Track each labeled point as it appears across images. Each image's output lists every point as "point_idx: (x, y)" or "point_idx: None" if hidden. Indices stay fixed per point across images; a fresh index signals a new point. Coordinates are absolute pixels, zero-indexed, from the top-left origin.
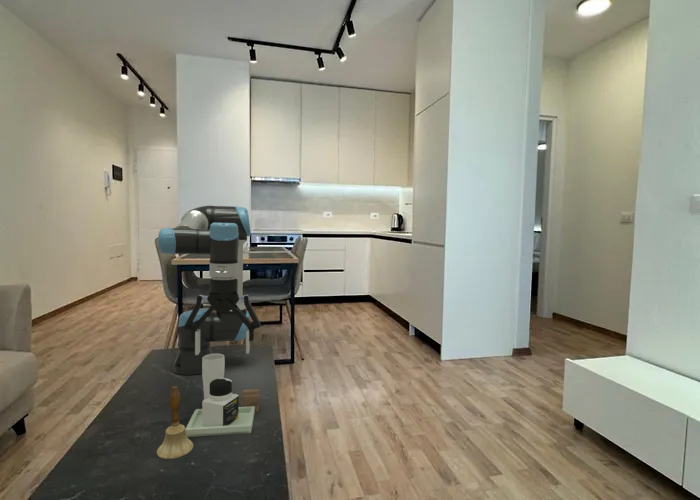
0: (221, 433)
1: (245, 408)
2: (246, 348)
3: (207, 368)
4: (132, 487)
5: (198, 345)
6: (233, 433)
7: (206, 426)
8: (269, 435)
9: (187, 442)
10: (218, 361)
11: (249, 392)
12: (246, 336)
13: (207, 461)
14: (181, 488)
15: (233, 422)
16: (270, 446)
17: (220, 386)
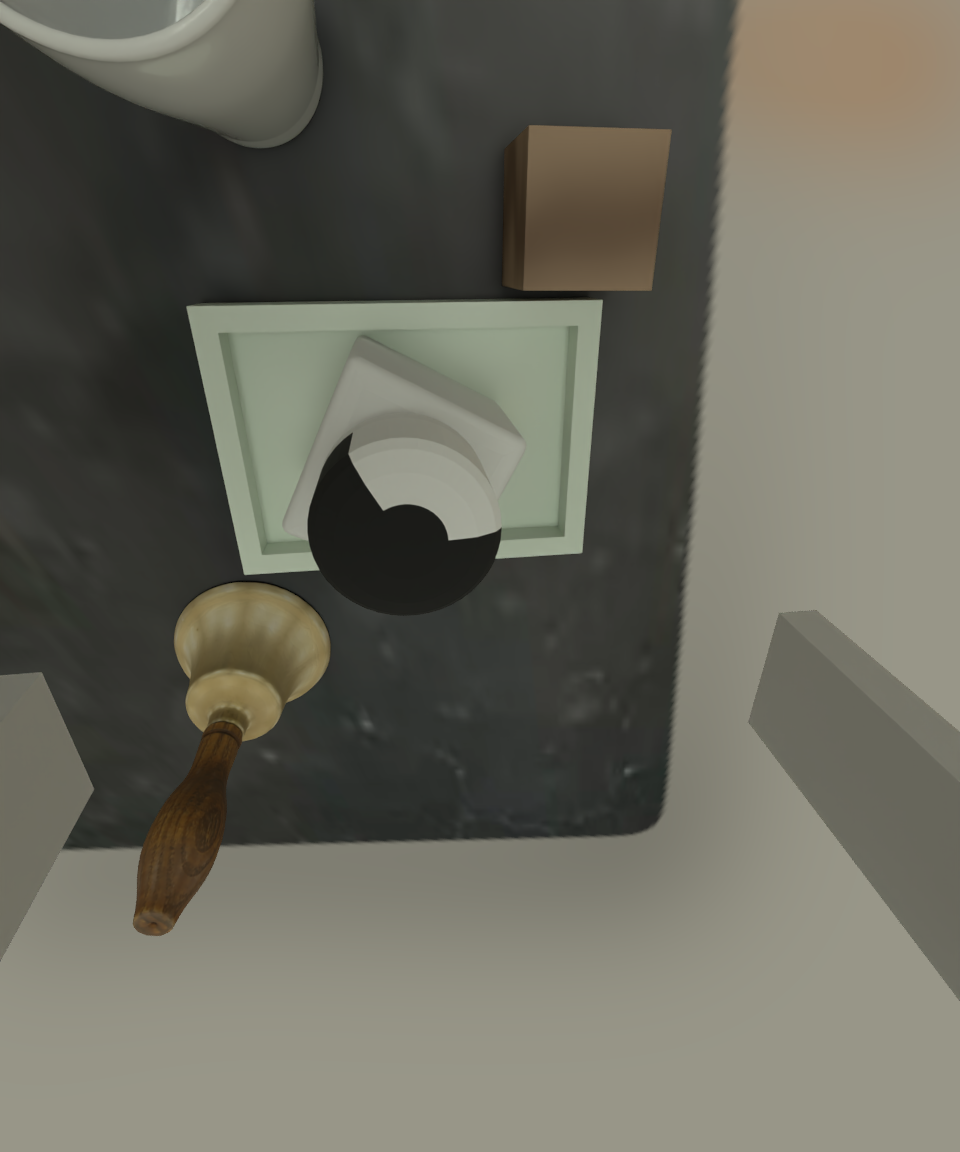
0: None
1: (540, 325)
2: (795, 774)
3: (99, 85)
4: None
5: (7, 897)
6: None
7: None
8: (653, 559)
9: (305, 667)
10: (229, 31)
11: (584, 201)
12: (939, 966)
13: (418, 716)
14: (375, 824)
15: None
16: (649, 637)
17: (421, 611)
